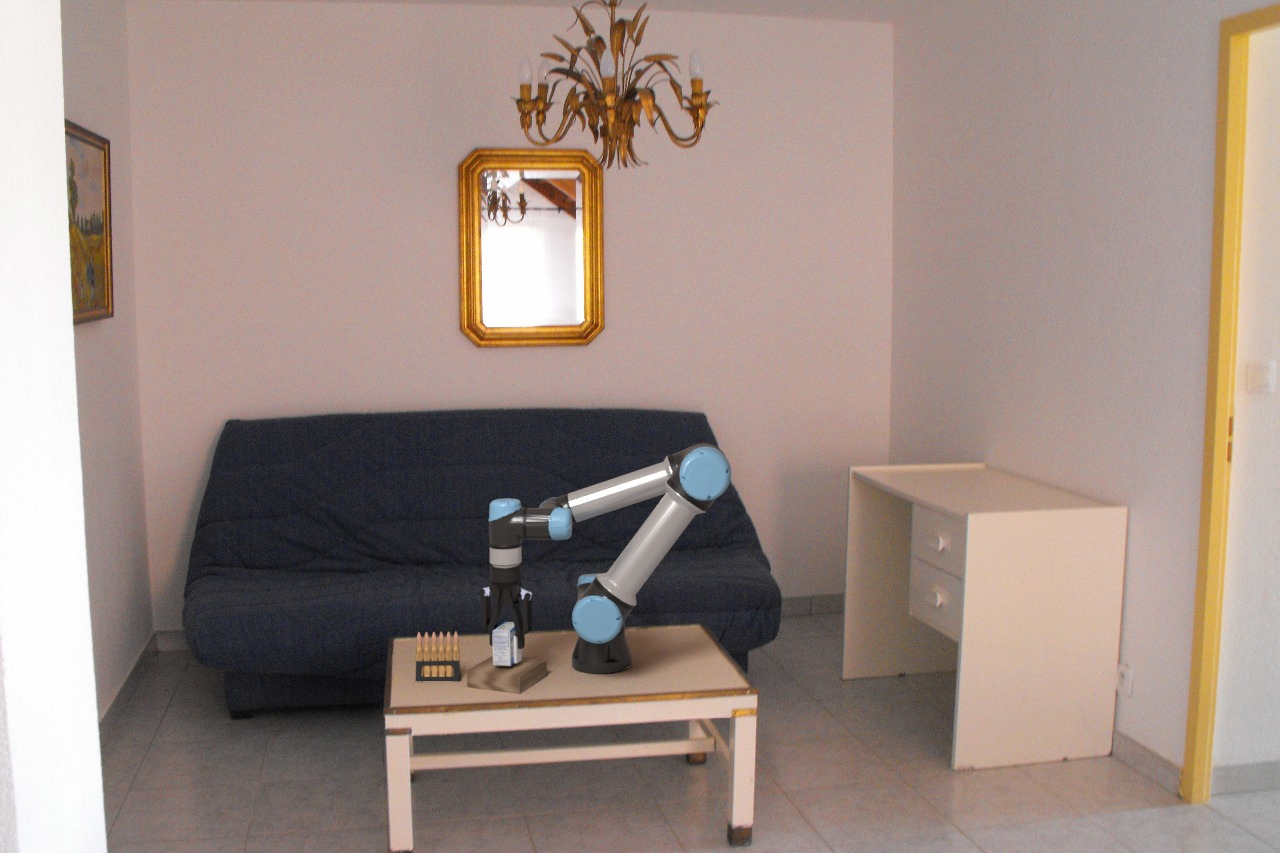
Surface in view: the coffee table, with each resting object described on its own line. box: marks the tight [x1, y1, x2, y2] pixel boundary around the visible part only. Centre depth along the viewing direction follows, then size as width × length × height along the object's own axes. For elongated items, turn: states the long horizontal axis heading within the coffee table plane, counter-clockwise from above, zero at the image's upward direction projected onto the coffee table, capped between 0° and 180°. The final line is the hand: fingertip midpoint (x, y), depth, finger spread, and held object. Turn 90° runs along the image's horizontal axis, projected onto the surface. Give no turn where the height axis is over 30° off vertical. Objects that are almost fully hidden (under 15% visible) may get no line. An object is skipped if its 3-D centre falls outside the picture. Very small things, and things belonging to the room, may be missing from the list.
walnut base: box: [466, 655, 548, 695], centre depth 268 cm, size 14×14×4 cm
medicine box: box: [492, 621, 516, 666], centre depth 268 cm, size 8×4×9 cm, turn 167°
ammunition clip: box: [415, 630, 462, 683], centre depth 269 cm, size 11×2×12 cm, turn 92°
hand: (507, 660), depth 268 cm, fingers closed on medicine box, 5 cm apart
